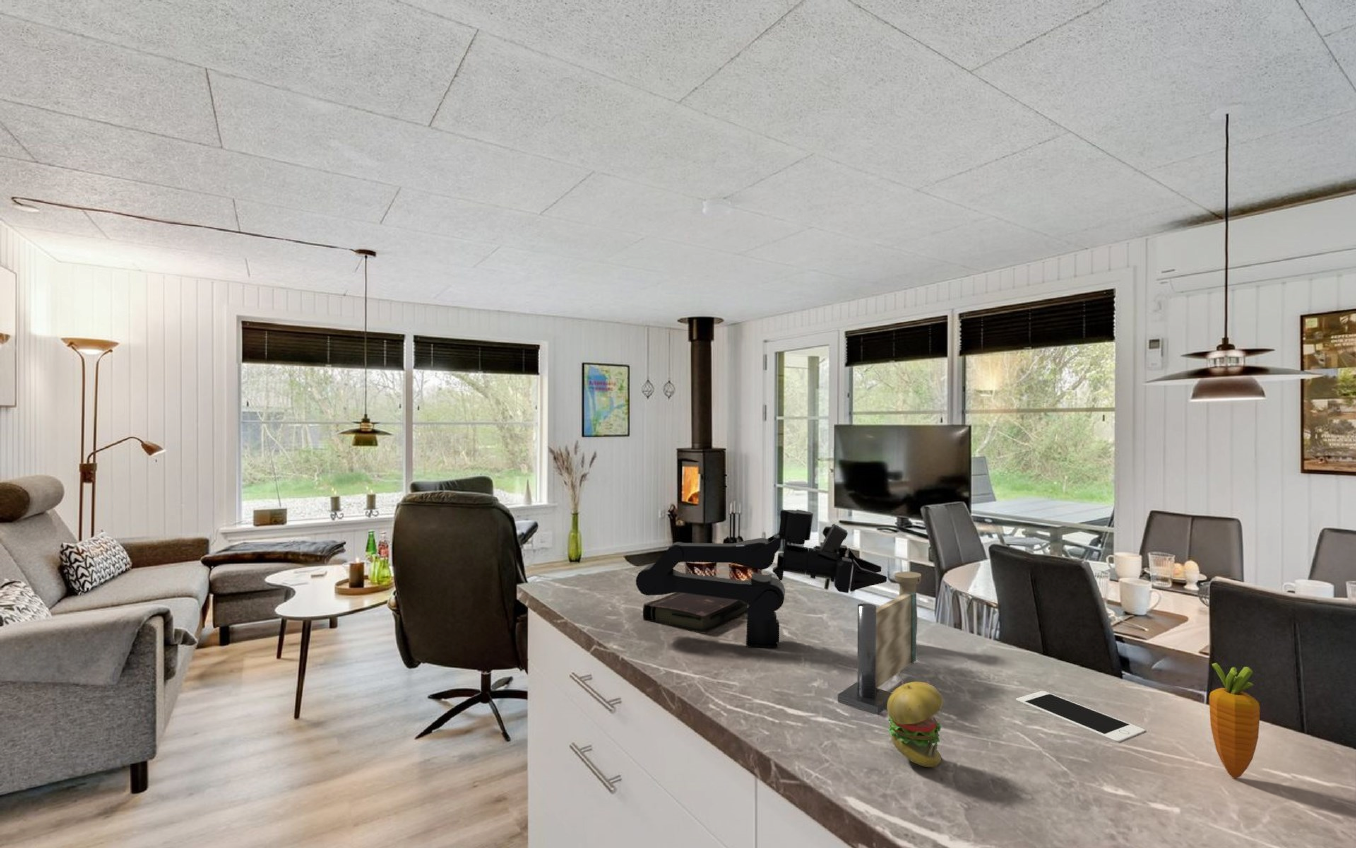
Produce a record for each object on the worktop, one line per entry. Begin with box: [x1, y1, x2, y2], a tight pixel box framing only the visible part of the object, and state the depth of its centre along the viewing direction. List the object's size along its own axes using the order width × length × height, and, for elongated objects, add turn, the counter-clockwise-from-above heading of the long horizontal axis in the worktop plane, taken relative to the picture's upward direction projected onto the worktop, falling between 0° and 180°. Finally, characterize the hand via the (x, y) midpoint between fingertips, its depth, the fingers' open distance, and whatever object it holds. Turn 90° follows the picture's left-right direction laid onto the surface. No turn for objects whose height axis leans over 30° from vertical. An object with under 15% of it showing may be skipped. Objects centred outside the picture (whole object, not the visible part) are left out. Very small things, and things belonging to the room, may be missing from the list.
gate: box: [876, 592, 917, 689], centre depth 112 cm, size 18×2×13 cm, turn 138°
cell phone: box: [1015, 690, 1146, 743], centre depth 99 cm, size 8×16×1 cm, turn 27°
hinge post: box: [837, 602, 893, 715], centre depth 104 cm, size 7×7×16 cm
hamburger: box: [886, 672, 944, 768], centre depth 85 cm, size 8×7×12 cm
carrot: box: [1208, 662, 1261, 780], centre depth 81 cm, size 5×5×15 cm
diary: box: [642, 593, 748, 634], centre depth 152 cm, size 19×25×5 cm
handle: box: [893, 571, 922, 636], centre depth 131 cm, size 5×6×15 cm
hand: (883, 574), depth 127 cm, fingers open, 9 cm apart
